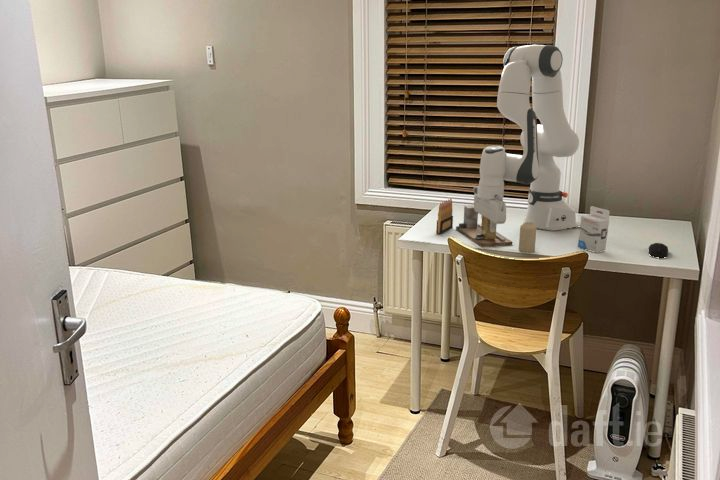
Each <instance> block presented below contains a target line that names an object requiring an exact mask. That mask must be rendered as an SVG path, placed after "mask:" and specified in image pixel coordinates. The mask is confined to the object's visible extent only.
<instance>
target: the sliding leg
mask: <svg viewBox="0 0 720 480" xmlns="http://www.w3.org/2000/svg"><path fill="white" fill-rule="evenodd" d="M481 224H482V225H481V234H476V237H477V238H481V237H482V238H483V239H485V240H490V239H496V232H497V226H496V227H495V232H490V231H489V226H490V224H491V223H490V220H489V219H487V218H486V217H484V216H482V218H481Z"/></svg>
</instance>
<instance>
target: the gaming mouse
mask: <svg viewBox="0 0 720 480" xmlns="http://www.w3.org/2000/svg"><path fill="white" fill-rule="evenodd" d="M648 249H649V252H648V255H649V254H650V255H651V256H654V257H659V258H664V257H667V258H668V254H669V247H668V246H667V245H666V244H664V243H661V242H655V243H651V244H650V245H649V246H648ZM651 256H650V257H651Z"/></svg>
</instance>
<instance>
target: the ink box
mask: <svg viewBox="0 0 720 480" xmlns="http://www.w3.org/2000/svg"><path fill="white" fill-rule="evenodd" d="M589 209H590V210H589V214H584V215H581V216H580V227H579V233H578V243H577V248H578V247H580V248H579V249H582V248H583V249H582V250H585V249H587V250H586V251H588V250H591V251H594V252H597V253H596V254H599V253H598V252H600V251H604V250H605V251H606V247H607V239H608V232H609V224H610V209H609V210H608V209H605V208H600V207H596V206H593V205H591V206H590V208H589ZM591 251H590V252H591ZM605 251H604V252H605ZM594 252H593V253H594ZM600 253H601V252H600Z"/></svg>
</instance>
